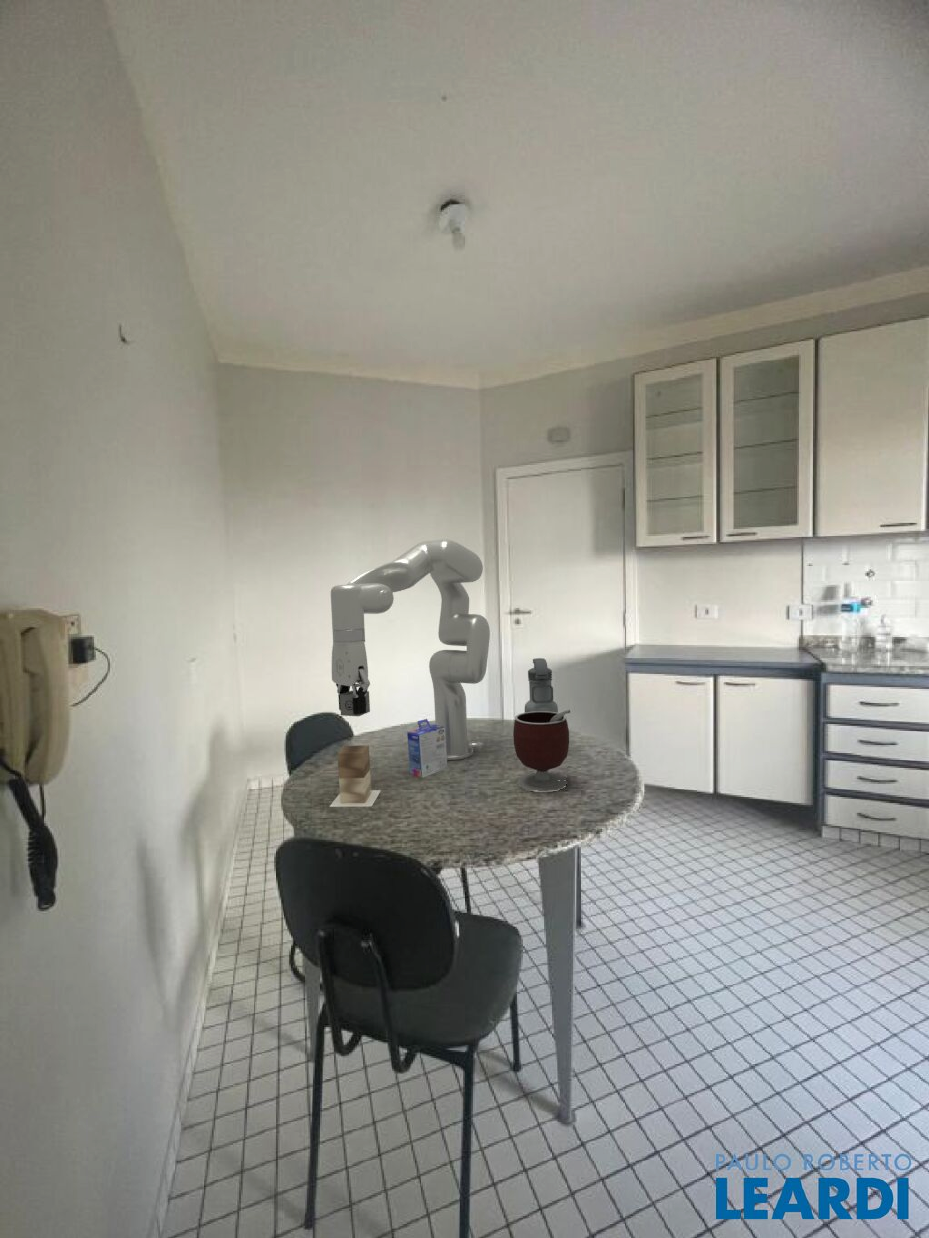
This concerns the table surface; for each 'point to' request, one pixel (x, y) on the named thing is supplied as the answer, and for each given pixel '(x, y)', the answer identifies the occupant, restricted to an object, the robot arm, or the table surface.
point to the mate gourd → (541, 747)
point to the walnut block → (353, 761)
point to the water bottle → (540, 688)
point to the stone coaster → (368, 803)
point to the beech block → (355, 789)
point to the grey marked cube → (351, 704)
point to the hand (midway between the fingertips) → (352, 710)
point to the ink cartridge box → (427, 749)
